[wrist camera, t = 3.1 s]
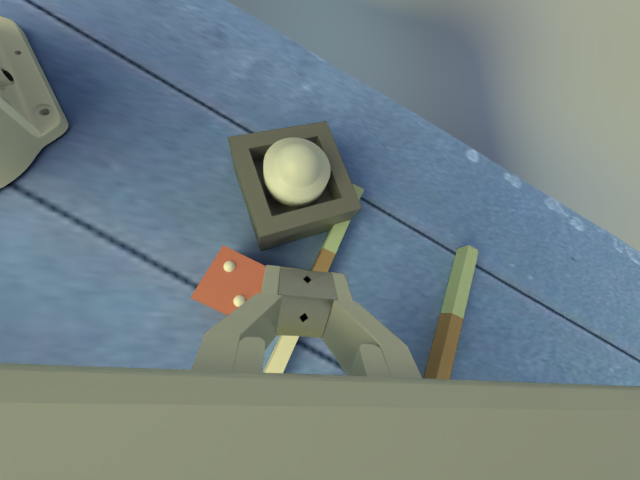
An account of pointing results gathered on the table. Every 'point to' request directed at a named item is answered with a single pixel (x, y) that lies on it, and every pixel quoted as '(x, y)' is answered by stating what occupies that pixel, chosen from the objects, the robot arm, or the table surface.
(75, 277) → the table surface
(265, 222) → the dome housing
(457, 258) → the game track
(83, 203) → the table surface
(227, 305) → the die
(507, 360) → the table surface
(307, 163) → the pop dome
